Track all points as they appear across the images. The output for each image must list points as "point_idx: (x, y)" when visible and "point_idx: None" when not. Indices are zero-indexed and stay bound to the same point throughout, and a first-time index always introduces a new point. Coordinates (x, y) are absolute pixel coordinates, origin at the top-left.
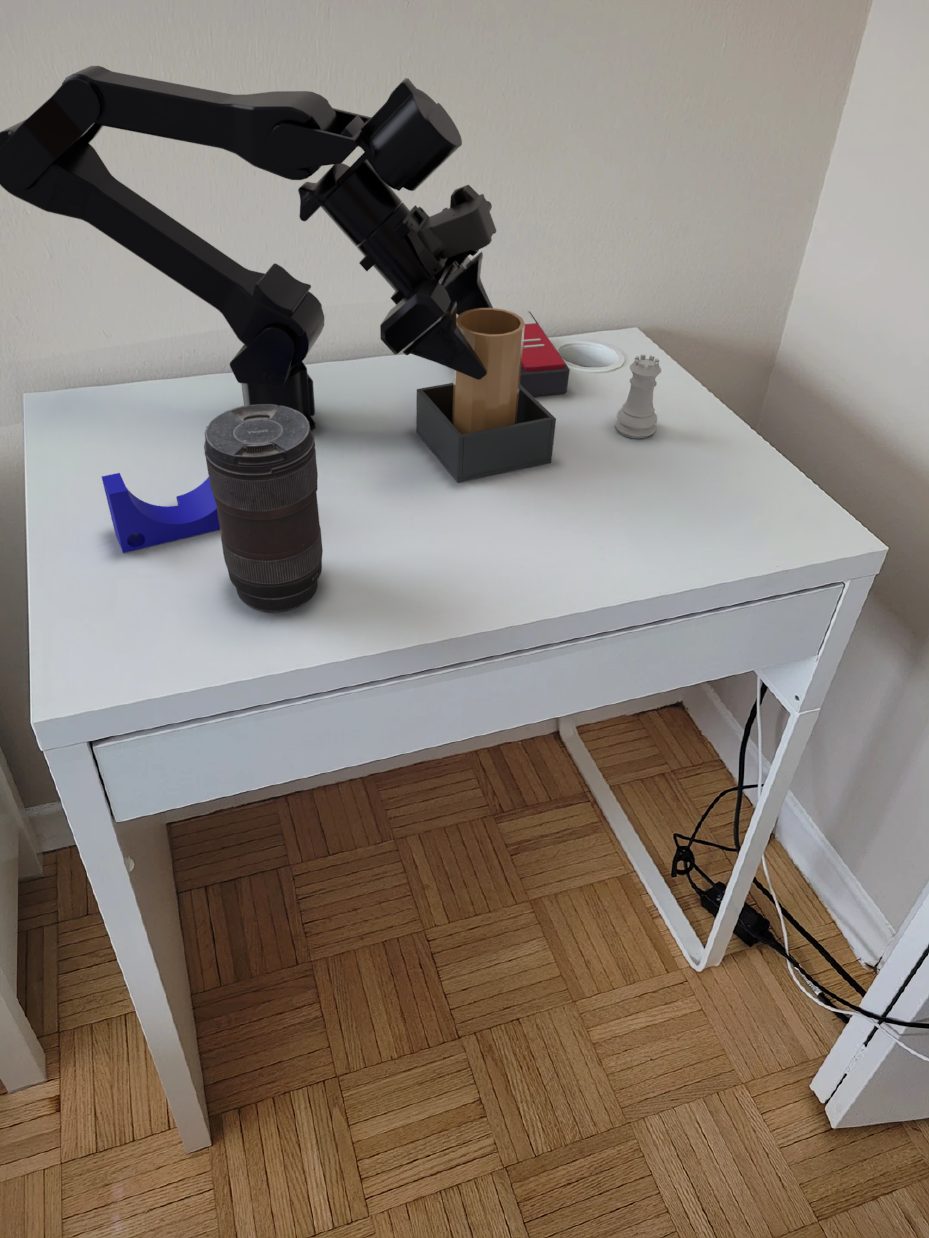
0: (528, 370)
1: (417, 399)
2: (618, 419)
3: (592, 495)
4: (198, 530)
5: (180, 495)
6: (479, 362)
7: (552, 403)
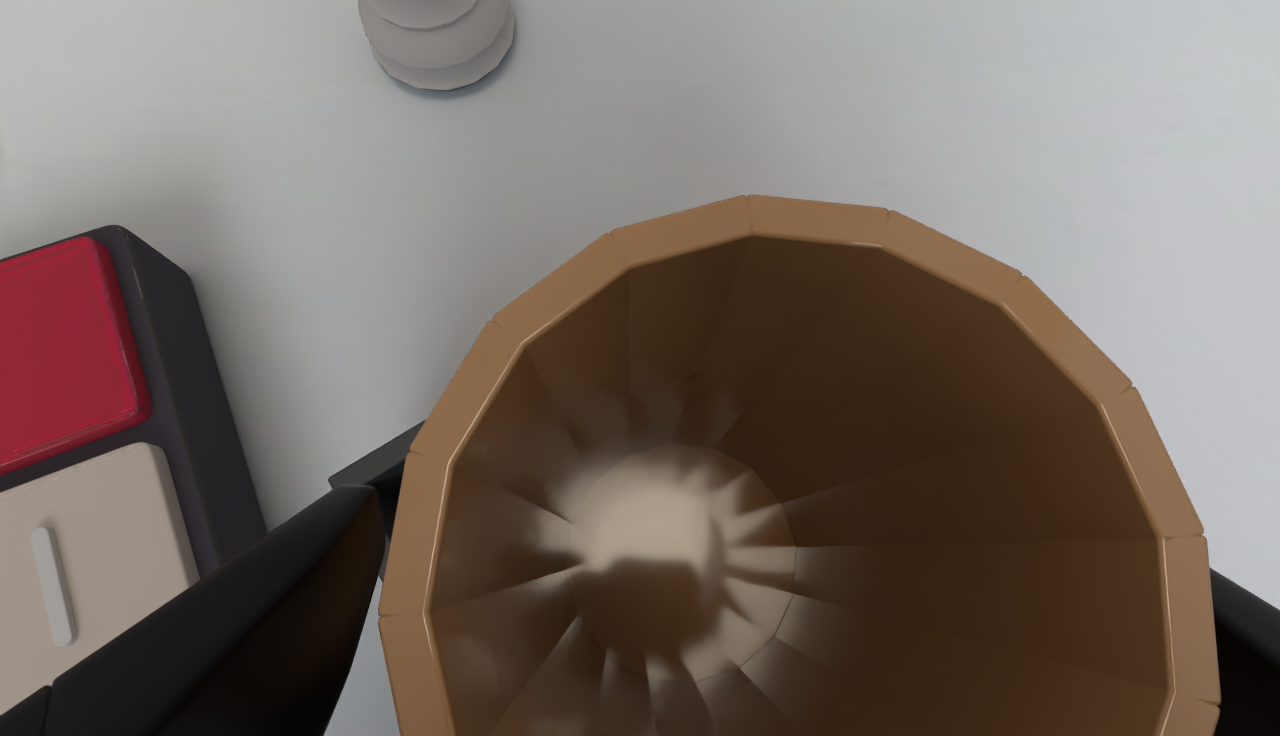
0: (147, 403)
1: None
2: (456, 61)
3: (898, 159)
4: None
5: None
6: (1245, 599)
7: (275, 318)
